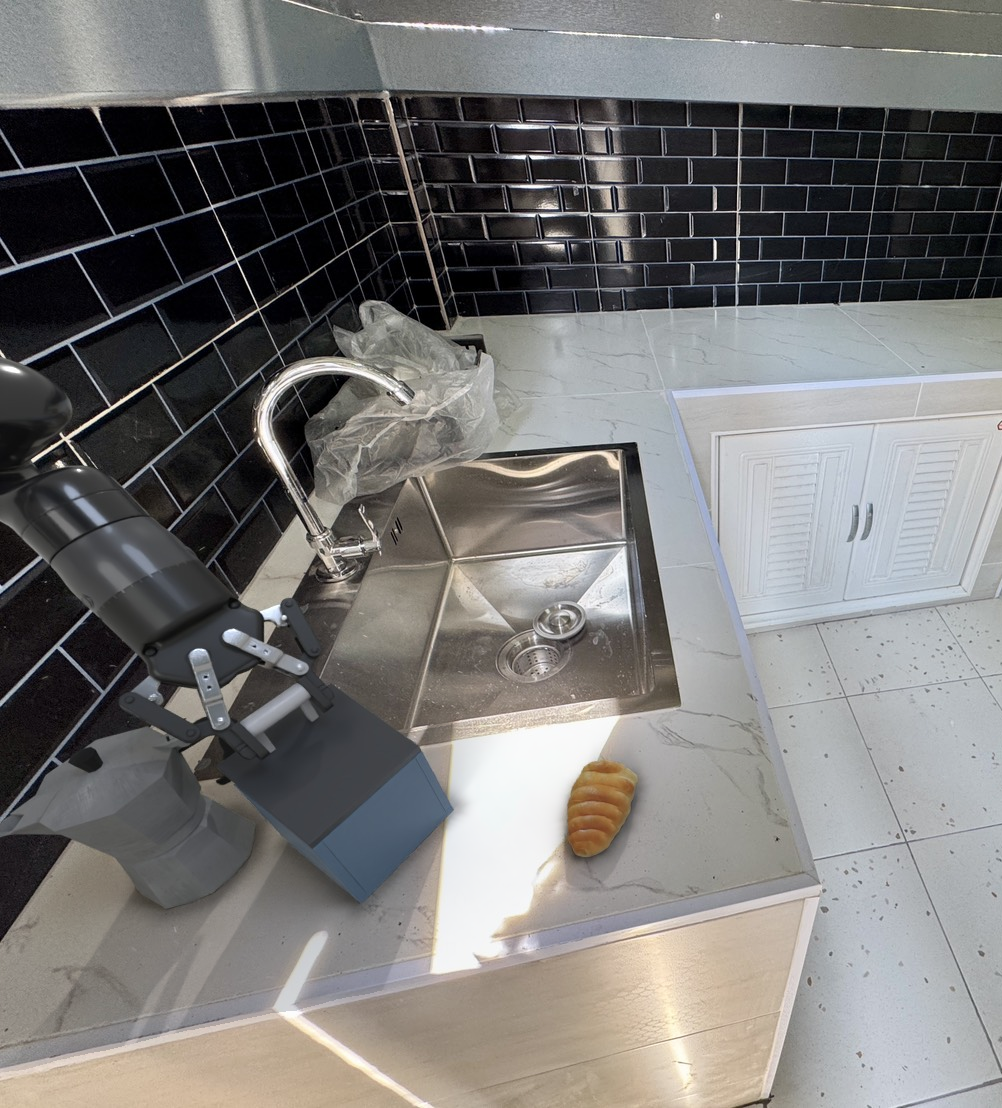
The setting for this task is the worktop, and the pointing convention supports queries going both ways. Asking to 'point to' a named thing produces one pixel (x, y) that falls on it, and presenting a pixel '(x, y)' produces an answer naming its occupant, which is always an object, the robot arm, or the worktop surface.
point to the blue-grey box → (376, 830)
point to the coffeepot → (142, 815)
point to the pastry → (599, 806)
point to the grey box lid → (317, 760)
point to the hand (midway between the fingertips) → (297, 732)
